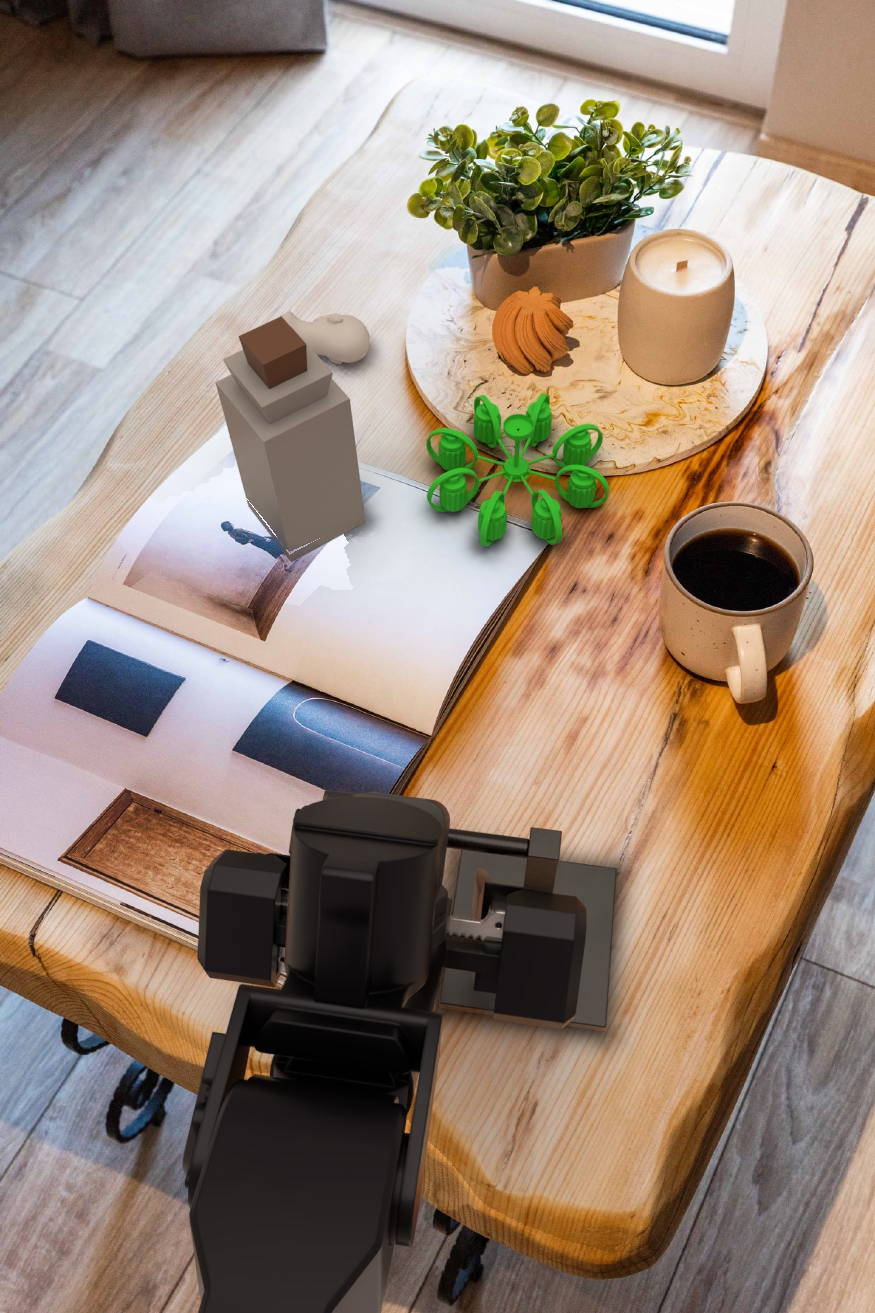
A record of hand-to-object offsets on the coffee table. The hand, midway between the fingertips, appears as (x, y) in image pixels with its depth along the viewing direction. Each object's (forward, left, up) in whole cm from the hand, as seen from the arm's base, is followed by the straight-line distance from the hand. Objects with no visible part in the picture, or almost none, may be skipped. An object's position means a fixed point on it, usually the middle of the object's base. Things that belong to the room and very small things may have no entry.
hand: (414, 868), depth 63 cm
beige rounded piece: (+49, +16, -9) cm, 52 cm away
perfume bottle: (+31, +14, -9) cm, 35 cm away
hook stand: (0, -3, -9) cm, 10 cm away
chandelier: (+36, -2, -9) cm, 37 cm away
